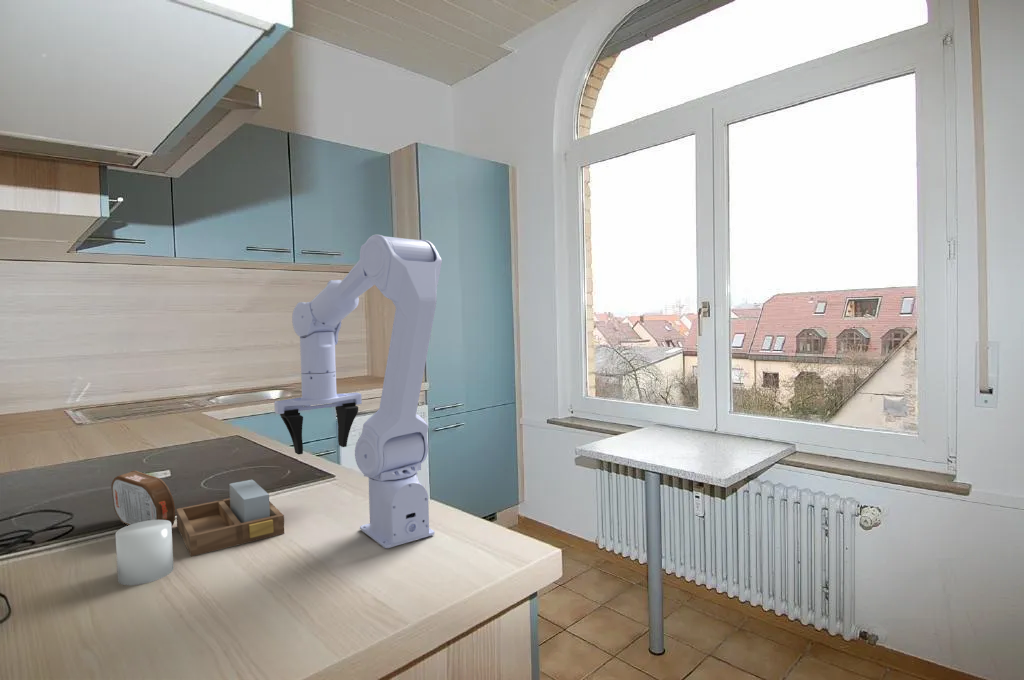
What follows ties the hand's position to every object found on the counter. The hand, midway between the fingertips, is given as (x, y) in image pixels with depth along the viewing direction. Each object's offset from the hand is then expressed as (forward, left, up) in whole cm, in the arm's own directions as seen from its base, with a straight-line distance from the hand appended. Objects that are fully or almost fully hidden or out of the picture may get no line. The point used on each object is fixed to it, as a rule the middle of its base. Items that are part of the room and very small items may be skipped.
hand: (321, 449), depth 97 cm
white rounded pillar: (-12, +27, -10) cm, 31 cm away
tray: (-3, +16, -9) cm, 18 cm away
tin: (+7, +26, -10) cm, 29 cm away
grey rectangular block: (-3, +13, -9) cm, 16 cm away
